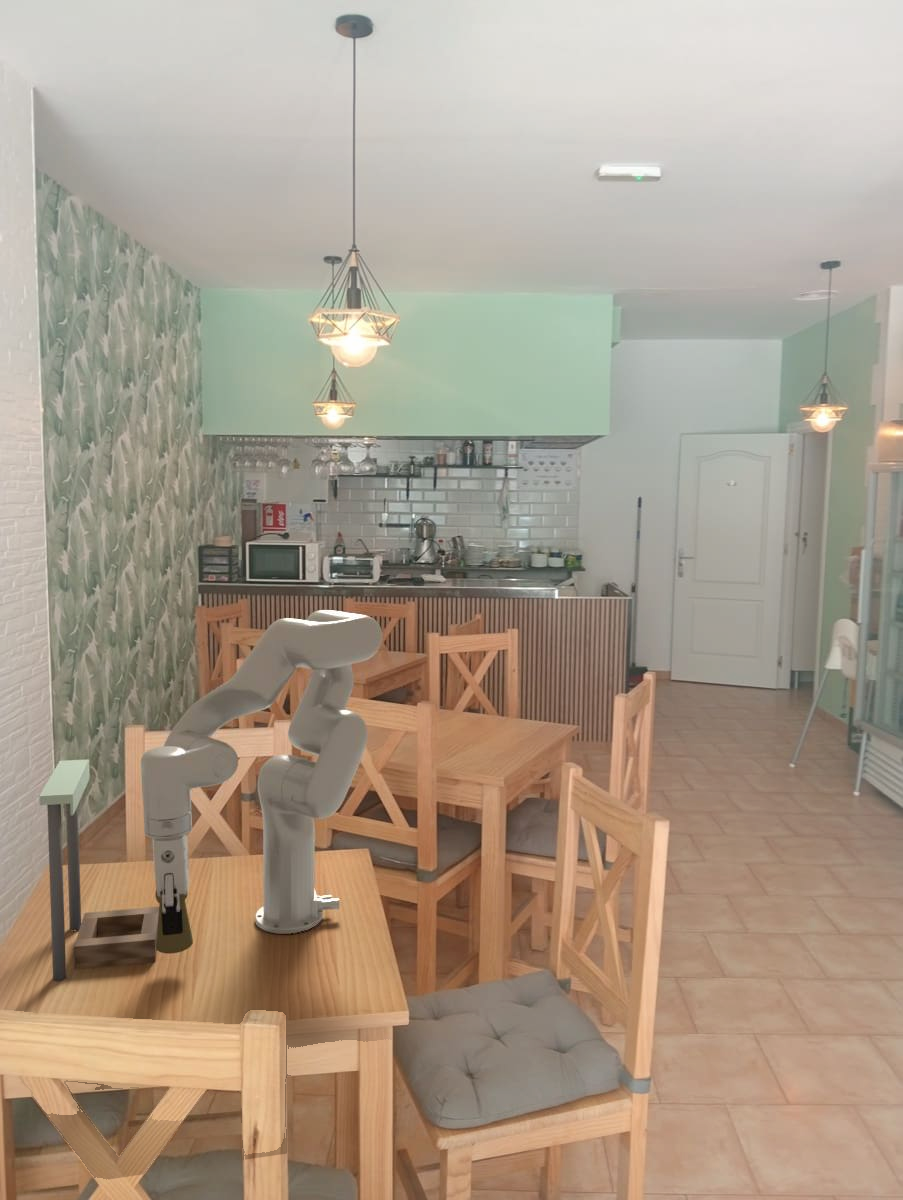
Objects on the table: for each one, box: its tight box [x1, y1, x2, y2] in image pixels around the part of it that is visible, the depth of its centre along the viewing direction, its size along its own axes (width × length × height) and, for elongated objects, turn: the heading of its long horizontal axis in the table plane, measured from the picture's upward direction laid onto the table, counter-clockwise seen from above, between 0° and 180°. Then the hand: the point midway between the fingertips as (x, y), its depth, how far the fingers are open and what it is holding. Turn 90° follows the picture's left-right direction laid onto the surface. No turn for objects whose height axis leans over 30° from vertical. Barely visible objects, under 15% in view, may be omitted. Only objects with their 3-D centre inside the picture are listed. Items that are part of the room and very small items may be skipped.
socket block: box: [73, 906, 159, 970], centre depth 167 cm, size 13×13×4 cm
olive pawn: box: [154, 880, 194, 955], centre depth 159 cm, size 6×6×11 cm
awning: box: [39, 759, 91, 982], centre depth 164 cm, size 5×20×32 cm, turn 14°
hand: (173, 925), depth 159 cm, fingers closed on olive pawn, 4 cm apart
